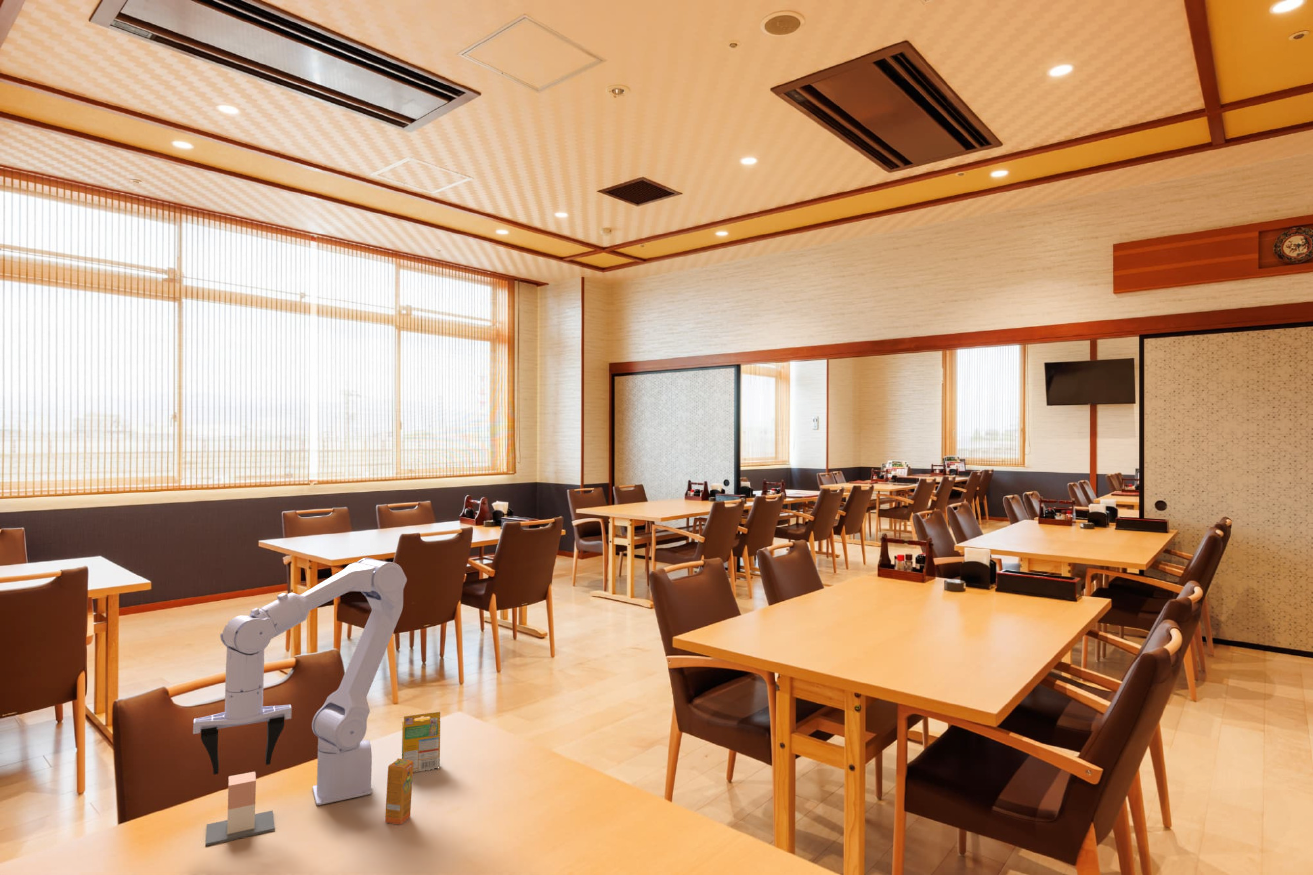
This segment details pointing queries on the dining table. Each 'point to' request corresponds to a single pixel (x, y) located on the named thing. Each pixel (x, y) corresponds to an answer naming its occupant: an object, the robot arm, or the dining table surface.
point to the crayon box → (421, 741)
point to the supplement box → (399, 791)
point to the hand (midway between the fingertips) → (242, 767)
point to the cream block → (241, 819)
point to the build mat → (219, 831)
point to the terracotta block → (241, 790)
